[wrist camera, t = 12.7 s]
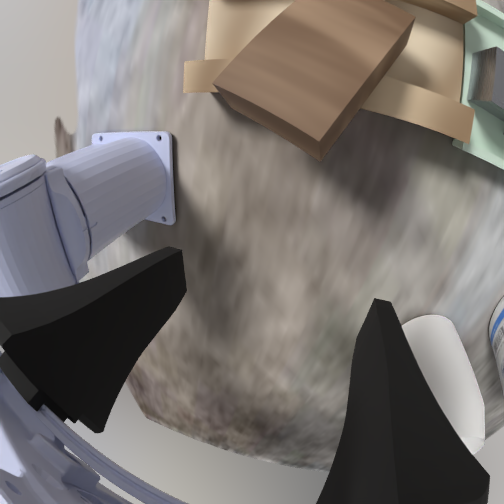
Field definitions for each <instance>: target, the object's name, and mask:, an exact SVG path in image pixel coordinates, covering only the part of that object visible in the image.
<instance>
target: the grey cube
mask: <svg viewBox="0 0 504 504" xmlns="http://www.w3.org/2000/svg"><path fill="white" fill-rule="evenodd" d="M467 100H468V101H470V102H472V103H474V104H476V105H477V106H479V107H481V108H483V109H484V110H486V111H488V112H489V113H491V114H492V115H494V116H496V117H497V118H499V119H500V120H502V121H503V122H504V51H503V50H502V49H500V48H499V47H497V46H496V47H492V48H489V49H485V50H482V51H478V52H475V53H472V64H471V73H470V81H469V88H468V94H467Z"/></svg>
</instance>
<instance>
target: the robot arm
mask: <svg viewBox="0 0 504 504" xmlns="http://www.w3.org/2000/svg"><path fill="white" fill-rule="evenodd" d="M159 136H161V138H162V139H161V140H160V138H159ZM102 138H103V139H102ZM164 217H165V218H166V219H165V218H164ZM143 219H145V220H149V221H154V222H158V223H162V224H167V225H173V224H174V223H175V221H176V217H175V202H174V184H173V159H172V135H171V133H169V132H167V131H133V132H108V133H96V134H93V135H92V145H90V146H87V147H85V148H82V149H79V150H76V151H74V152H71V153H69V154H66V155H64V156H61V157H59V158H56V159H54V160H51V161H49V162H47V163H46V161H45V159H43V158H40V157H38V156H37V155H35V154H31V155H26V156H23V157H19V158H16V159H14V160H11V161H8V162H6V163H4V164H1V165H0V345H1V346H2V348H3V349H4V350H5V352H4V353H3V354H2V353H1V351H0V504H132V503H131V502H129V501H127V500H125V499H124V498H122V497H121V496H119V495H117V494H115V493H114V492H112V491H111V490H109V489H108V488H106V487H105V486H103V485H101V484H100V483H99V482H98V481H99V480H100V476H99V475H98V474H97V473H96V472H95V471H97V472H98V473H99V474H101V475H102V476H103V477H105V478H106V479H108V480H109V481H110V482H112V483H114V484H115V485H116V486H118V487H119V488H121V489H122V490H124V491H126V492H127V493H128V494H130V495H132V496H133V497H135V498H137V499H138V500H140V501H142V502H143V503H145V504H187V503H185V502H183V501H181V500H179V499H177V498H175V497H173V496H170V495H169V494H167V493H165V492H163V491H161V490H159V489H157V488H155V487H153V486H151V485H150V484H148V483H146V482H144V481H143V480H141V479H139V478H138V477H136V476H134V475H133V474H131V473H129V472H128V471H126V470H125V469H123V468H122V467H120V466H119V465H117V464H116V463H114V462H113V461H111V460H110V459H109V458H107V457H106V456H104V455H103V454H102V453H100V452H99V451H98V450H96V449H95V448H94V447H92V446H91V445H90V444H89V443H87V442H86V441H85V440H83V439H82V438H81V437H80V436H79V435H77V434H76V433H75V432H74V431H73V430H72V429H70V427H68V426H67V425H66V424H65V423H64V421H65V420H66V419H67V418H68V419H70V420H71V421H72V422H73V423H76V421H77V420H80V422H82V423H83V424H84V425H85V426H87V427H88V428H89V429H90V430H92V431H93V432H94V433H101V432H103V431H104V428H105V424H106V422H107V419H108V417H109V414H110V412H111V409H112V407H113V405H114V403H115V400H116V398H117V396H118V394H119V392H120V390H121V388H122V386H123V384H124V382H125V381H126V379H127V377H128V375H129V373H130V372H131V370H132V368H133V367H134V365H135V363H136V362H137V360H138V358H139V357H140V355H141V354H142V352H143V351H144V350H145V348H146V347H147V346H148V344H149V343H150V342H151V341H152V339H153V338H154V337H155V336H156V334H157V333H158V332H159V331H160V329H161V328H162V327H163V326H164V324H165V323H166V322H167V321H168V319H169V318H170V317H171V315H172V314H173V313H174V311H175V310H176V308H177V307H178V305H179V304H180V302H181V300H182V298H183V297H184V295H185V293H186V291H187V288H186V281H185V273H184V265H183V256H182V250H180V249H176V248H172V247H167V248H164V249H161V250H158V251H156V252H154V253H151V254H149V255H147V256H144V257H142V258H140V259H137V260H135V261H133V262H131V263H128V264H126V265H124V266H122V267H119V268H117V269H115V270H112V271H110V272H107V273H105V274H102V275H100V276H98V277H95V278H92V279H90V280H87V281H84V282H81V283H79V280H80V279H81V278H83V277H84V276H85V275H86V274H87V273H88V272H89V269H88V265H87V261H89V260H90V259H91V258H92V257H94V256H95V255H96V254H97V253H99V252H100V251H101V250H103V249H104V248H105V247H107V246H108V245H109V244H110V243H112V242H113V241H114V240H116V239H117V238H118V237H120V236H121V235H123V234H124V233H125V232H127V231H128V230H129V229H131V228H132V227H134V226H135V225H136V224H138V223H139V222H141V221H142V220H143ZM64 445H65V446H67V447H68V448H69V449H70V450H71V451H72V452H73V453H74V454H76V455H77V456H78V457H79V458H80V459H81V460H80V459H79V458H77V457H75V456H74V455H73V454H71V453H69V452H68V451H67V450H65V449H64ZM82 460H83V461H84V462H85V463H84V462H83V461H82ZM87 464H88V465H89V466H88V465H87ZM92 468H93V469H94V470H95V471H94V470H93V469H92ZM489 482H490V475H489V474H488V473H487V472H486V470H485V469H484V468H483V467H482V466H481V464H480V463H479V462H478V461H477V460H476V459H475V457H474V456H473V455H472V454H471V452H470V451H469V449H468V448H467V447H466V445H465V444H464V443H463V441H462V440H461V439H460V437H459V436H458V434H457V433H456V431H455V430H454V428H453V427H452V425H451V423H450V422H449V420H448V419H447V417H446V415H445V414H444V412H443V411H442V409H441V407H440V406H439V404H438V402H437V400H436V398H435V396H434V395H433V393H432V391H431V389H430V387H429V386H428V384H427V382H426V380H425V378H424V376H423V374H422V371H421V369H420V367H419V365H418V363H417V361H416V359H415V357H414V354H413V352H412V350H411V347H410V345H409V343H408V341H407V338H406V336H405V334H404V331H403V329H402V327H401V324H400V322H399V320H398V317H397V315H396V313H395V310H394V308H393V306H392V304H391V302H389V301H385V300H380V299H376V298H374V300H373V303H372V305H371V307H370V310H369V312H368V314H367V317H366V319H365V321H364V323H363V325H362V328H361V330H360V332H359V334H358V336H357V339H356V344H355V349H354V355H353V360H352V367H351V377H350V387H349V396H348V404H347V412H346V418H345V423H344V428H343V432H342V435H341V439H340V442H339V446H338V449H337V452H336V455H335V458H334V461H333V464H332V467H331V470H330V472H329V475H328V478H327V480H326V482H325V485H324V487H323V490H322V492H321V494H320V496H319V498H318V501H317V503H316V504H487V503H488V494H489Z"/></svg>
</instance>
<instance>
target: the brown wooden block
mask: <svg viewBox="0 0 504 504" xmlns="http://www.w3.org/2000/svg"><path fill="white" fill-rule="evenodd" d="M415 18H416V17H415V16H414V15H412V14H410V13H408V12H406V11H404V10H402V9H400V8H398V7H396V6H394V5H392V4H390V3H388V2H386V1H384V0H295V1H294V2H293V3H292V4H291V5H289V6H288V7H287V8H286V9H285V10H284V11H282V12H281V13H280V14H279V15H278V16H277V17H276V18H274V19H273V20H272V21H271V22H270V23H269V24H268V25H267V26H266V27H265V28H264V29H263V30H262V31H261V32H259V33H258V34H257V35H256V36H255V37H254V38H253V39H252V40H251V41H250V42H249V43H248V44H247V45H246V46H245V47H244V48H243V49H242V51H241V52H240V53H239V54H238V55H237V56H236V57H235V58H234V59H233V60H232V61H231V62H230V63H229V64H228V66H227V67H226V68H225V69H224V70H223V71H222V72H221V73H220V75H219V76H218V77H217V78H216V79H215V80H214V82H213V83H212V84H213V85H214V86H215V88H216V89H217V90H218V91H219V93H220V94H221V95H222V97H223V98H224V99H225V100H226V102H227V103H228V104H229V106H230V107H231V108H232V109H234V110H236V111H237V112H239V113H241V114H243V115H245V116H247V117H248V118H250V119H252V120H254V121H256V122H257V123H259V124H261V125H263V126H264V127H266V128H268V129H269V130H271V131H273V132H274V133H276V134H278V135H279V136H281V137H283V138H284V139H286V140H288V141H289V142H291V143H292V144H294V145H295V146H297V147H299V148H300V149H302V150H303V151H305V152H306V153H308V154H309V155H311V156H312V157H314V158H315V159H317V160H318V161H320V162H321V160H322V159H323V158H324V156H325V155H326V154H327V152H328V151H329V150H330V148H331V147H332V146H333V144H334V143H335V142H336V140H337V139H338V138H339V136H340V135H341V133H342V132H343V131H344V129H345V128H346V127H347V125H348V124H349V123H350V121H351V120H352V119H353V117H354V116H355V115H356V113H357V112H358V110H359V109H360V108H361V106H362V105H363V104H364V102H365V101H366V100H367V98H368V97H369V96H370V94H371V93H372V92H373V90H374V89H375V88H376V86H377V85H378V83H379V82H380V81H381V79H382V78H383V77H384V75H385V74H386V73H387V71H388V70H389V69H390V67H391V66H392V64H393V63H394V62H395V60H396V59H397V58H398V56H399V55H400V54H401V52H402V51H403V50H404V48H405V47H406V46H407V43H408V40H409V37H410V34H411V31H412V27H413V24H414V21H415Z"/></svg>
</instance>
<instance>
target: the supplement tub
mask: <svg viewBox="0 0 504 504" xmlns="http://www.w3.org/2000/svg"><path fill="white" fill-rule="evenodd" d="M489 338H490V342H491V345H492V349H493V352H494V356H495V360H496V364H497V368H498V372H499V376H500V381H501V386H502V391H503V397H504V296H503V298H502V299H501V300H500V302H499V303H498V305H497V307H496V309H495V311H494V313H493V315H492V318H491V321H490V325H489Z"/></svg>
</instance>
